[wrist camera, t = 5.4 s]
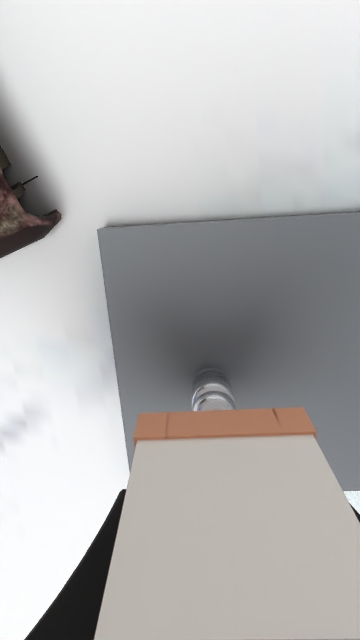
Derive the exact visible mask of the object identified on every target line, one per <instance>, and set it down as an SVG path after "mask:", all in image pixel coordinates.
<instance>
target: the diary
mask: <svg viewBox="0 0 360 640" xmlns="http://www.w3.org/2000/svg"><path fill="white" fill-rule="evenodd" d="M10 165H11V163H10V162H9V160H8V158H7V156H6V155H5V153H4V151H3V149H2V148H1V146H0V258H2V257H4V256H6V255H8V254H10V253H12V252H15V251H17V250H19V249H21V248H23V247H25V246H27V245H29V244H31V243H33V242H35V241H38V240H40V239H42V238H44V237H45V236H46V235H47V233H48V232H49V231H50V230H51V229H52V228H53V227H54V226H55V225H56V224H57V223H58V222H59V221H60V220H61V214H60V213H59V212H58V211H57V210H54V211H52V212H50V213H48V214H46V215H44V216H42V217H39V216H36V215H33V214H30V213H27V212H25V211H24V210H23V208H22V206H21V205H20V203H19V201H18V200H17V199H19V198H21V196H22V194H23V192H24V191H25V188H24V186H23V185H24V184H26V183H28V182H30V181H32V180H33V179H35V178H37V177H38V176H36V177H34V178H32V179H30V180H28V181H26V182H25V183H23V184H22V183H21V182H19V183H17V184H15V185H13V186H12V187H10V186H9V184H8V183H7V181H6V179H5V178H4V176H3V171H2V170H3V169H5V168H7V167H8V166H10Z"/></svg>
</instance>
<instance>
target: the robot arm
mask: <svg viewBox="0 0 360 640" xmlns="http://www.w3.org/2000/svg"><path fill="white" fill-rule="evenodd" d="M126 490H127V489H123V490H122V491H121V492H120V493H119V495H118V497H117V499H116V501H115V503H114V505H113V507H112V509H111V511H110V512H109V514H108V516H107V518H106V520H105V522H104V523H103V525H102V527H101V529H100V530H99V532H98V534H97V536H96V537H95V539H94V540H93V542H92V544H91V545H90V547H89V549H88V550H87V552H86V554H85V555H84V557H83V559H82V560H81V562H80V563H79V565H78V566H77V568H76V569H75V571H74V572H73V574H72V575H71V577H70V578H69V580H68V581H67V583H66V584H65V586H64V587H63V589H62V590H61V592H60V593H59V594H58V596H57V597H56V599H55V600H54V601H53V603H52V604H51V606H50V607H49V608H48V610H47V611H46V612H45V614H44V615H43V616H42V618H41V619H40V620H39V622H38V623H37V624H36V625H35V627H34V628H33V629H32V631H31V632H30V633H29V635H28V636H27V637H26V638H25V639H24V640H94V637H95V633H96V628H97V623H98V619H99V614H100V610H101V605H102V600H103V596H104V591H105V587H106V582H107V577H108V573H109V568H110V564H111V559H112V554H113V550H114V545H115V540H116V536H117V531H118V527H119V522H120V517H121V513H122V508H123V504H124V499H125V494H126ZM349 504H350V503H349ZM350 506H351V507H352V505H351V504H350ZM352 509H353V511H354V513H355V515H356V517H357V519H358V521H359V523H360V514H359V513H358V512H357V511H356V510H355V509H354V508H353V507H352Z"/></svg>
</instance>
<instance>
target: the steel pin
mask: <svg viewBox="0 0 360 640" xmlns="http://www.w3.org/2000/svg"><path fill="white" fill-rule="evenodd" d="M213 410H236V404H235V400H234V396H233V391H232V387H231V383H230V380H229V378H228V376H227V375H226V374H225V373H224V372H223V371H221V370H219V369H217V368H206V369H203V370H201V371H200V372H198V373H197V374H196V376H195V377H194V379H193V382H192V411H213Z"/></svg>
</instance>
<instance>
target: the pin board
mask: <svg viewBox="0 0 360 640" xmlns="http://www.w3.org/2000/svg"><path fill="white" fill-rule="evenodd" d="M97 232H98V240H99V247H100V255H101V262H102V269H103V277H104V284H105V292H106V299H107V307H108V314H109V322H110V329H111V336H112V344H113V351H114V359H115V366H116V374H117V381H118V389H119V396H120V403H121V411H122V418H123V426H124V433H125V441H126V448H127V456H128V463H129V470H130V471H131V467H132V462H133V457H134V453H135V446H134V438H133V437H134V433H135V429H136V424H137V420H138V416H139V413H159V412H186V411H192V382H193V379H194V377H195V376H196V374H197V373H198V372H200V371H201V370H203V369H206V368H217V369H219V370H221V371H223V372H224V373H225V374H226V375H227V376H228V378H229V380H230V383H231V387H232V391H233V396H234V400H235V404H236V410H241V409H268V408H295V407H304V409H305V411H306V413H307V415H308V416H309V418H310V420H311V422H312V424H313V425H314V427H315V429H316V431H317V434H316V441H317V443H318V445H319V447H320V449H321V451H322V453H323V454H324V456H325V458H326V460H327V462H328V464H329V466H330V468H331V470H332V471H333V473H334V475H335V477H336V479H337V481H338V483H339V485H340V487H341V488H342V490H343V491H360V212H346V213H330V214H313V215H297V216H281V217H264V218H248V219H231V220H215V221H199V222H182V223H166V224H149V225H133V226H117V227H104V228H101V229H97Z"/></svg>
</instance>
